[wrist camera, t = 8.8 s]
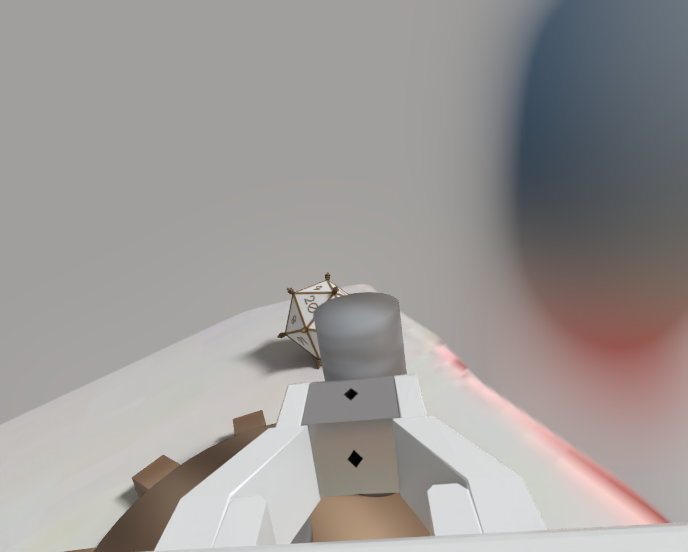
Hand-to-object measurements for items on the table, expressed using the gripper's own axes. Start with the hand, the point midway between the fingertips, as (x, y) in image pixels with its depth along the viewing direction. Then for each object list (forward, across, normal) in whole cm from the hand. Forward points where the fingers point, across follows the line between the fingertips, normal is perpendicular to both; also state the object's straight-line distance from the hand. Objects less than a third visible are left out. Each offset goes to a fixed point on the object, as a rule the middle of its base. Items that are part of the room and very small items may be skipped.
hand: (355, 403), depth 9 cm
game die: (+29, +5, +14) cm, 33 cm away
